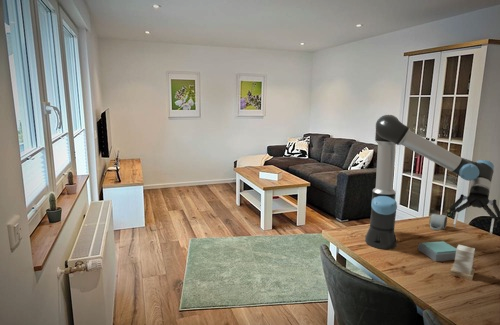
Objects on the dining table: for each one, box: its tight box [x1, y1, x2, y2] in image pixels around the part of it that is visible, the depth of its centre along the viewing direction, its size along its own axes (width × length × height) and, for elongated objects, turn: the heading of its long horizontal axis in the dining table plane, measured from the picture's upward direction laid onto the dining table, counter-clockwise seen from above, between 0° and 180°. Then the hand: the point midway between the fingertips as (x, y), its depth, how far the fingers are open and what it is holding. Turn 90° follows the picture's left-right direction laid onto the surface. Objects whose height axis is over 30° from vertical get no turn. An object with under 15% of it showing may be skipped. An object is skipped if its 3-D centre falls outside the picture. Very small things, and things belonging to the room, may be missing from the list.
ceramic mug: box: [428, 213, 448, 231], centre depth 190 cm, size 11×8×8 cm
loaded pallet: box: [449, 244, 476, 281], centre depth 140 cm, size 8×8×11 cm
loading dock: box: [417, 240, 457, 262], centre depth 157 cm, size 14×12×4 cm
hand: (472, 229), depth 146 cm, fingers open, 13 cm apart
